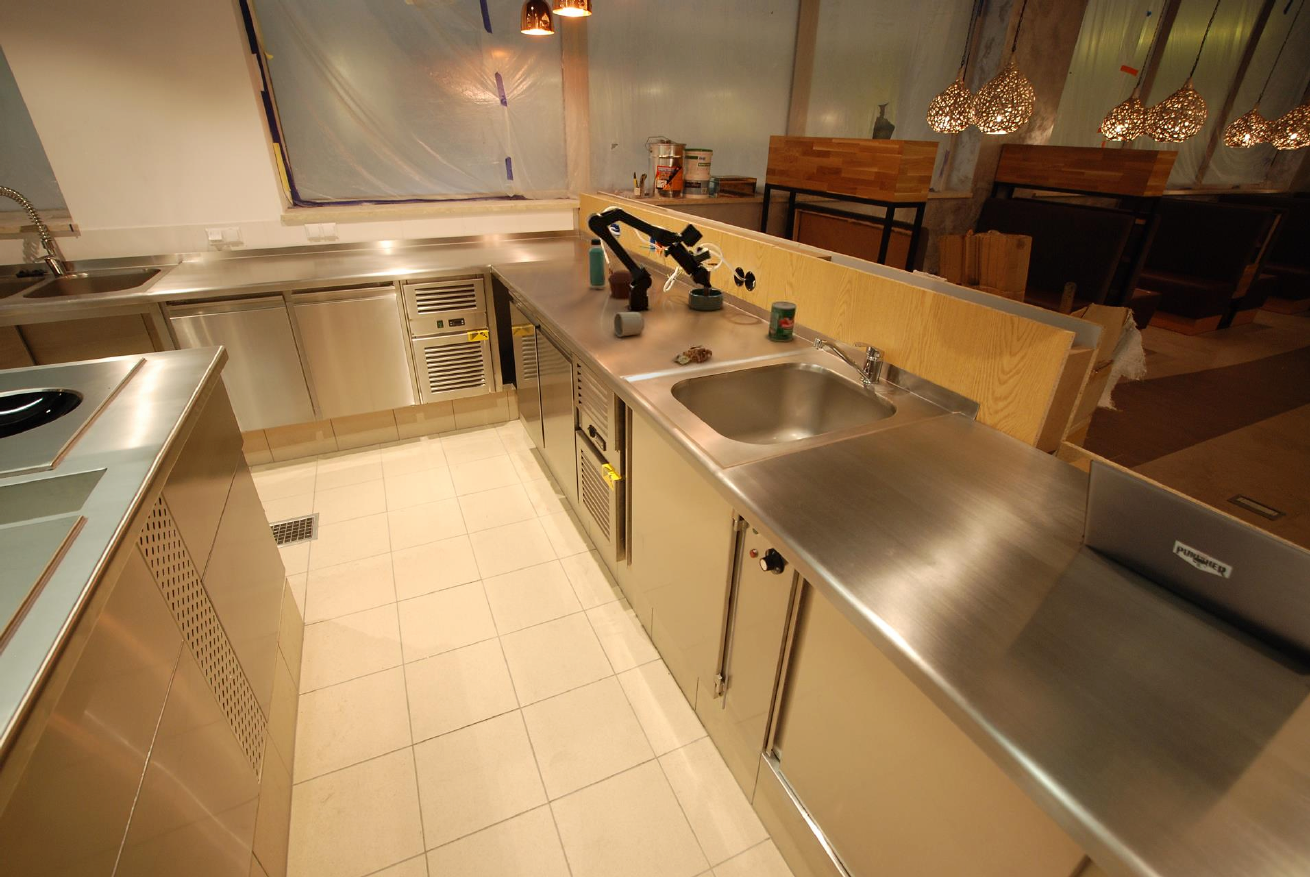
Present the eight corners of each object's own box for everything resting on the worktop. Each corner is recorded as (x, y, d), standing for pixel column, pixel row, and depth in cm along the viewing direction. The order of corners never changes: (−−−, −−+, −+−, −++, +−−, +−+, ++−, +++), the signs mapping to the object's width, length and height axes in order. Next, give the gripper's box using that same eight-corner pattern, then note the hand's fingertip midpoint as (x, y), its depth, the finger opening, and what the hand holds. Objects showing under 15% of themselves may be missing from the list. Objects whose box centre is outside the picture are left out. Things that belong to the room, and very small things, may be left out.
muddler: (710, 306, 218) (712, 272, 212) (699, 305, 219) (700, 271, 213) (711, 303, 222) (714, 269, 216) (700, 302, 223) (702, 268, 217)
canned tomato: (787, 343, 185) (791, 309, 180) (764, 338, 188) (767, 305, 183) (795, 336, 191) (800, 304, 185) (773, 332, 194) (777, 300, 189)
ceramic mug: (645, 336, 189) (645, 313, 185) (623, 339, 185) (622, 316, 181) (631, 327, 197) (630, 305, 193) (609, 330, 193) (608, 308, 190)
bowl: (695, 312, 214) (696, 297, 211) (683, 303, 225) (684, 289, 222) (728, 310, 217) (729, 295, 215) (714, 301, 228) (715, 287, 226)
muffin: (632, 291, 239) (632, 267, 234) (640, 298, 230) (640, 273, 225) (605, 293, 236) (604, 268, 231) (611, 300, 227) (611, 274, 222)
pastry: (670, 360, 169) (670, 348, 168) (697, 351, 177) (698, 340, 175) (687, 367, 165) (688, 355, 163) (715, 357, 172) (715, 346, 171)
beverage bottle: (603, 290, 240) (601, 240, 231) (587, 289, 241) (585, 239, 232) (607, 286, 246) (606, 238, 236) (592, 285, 247) (590, 237, 237)
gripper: (704, 245, 201) (732, 276, 208) (693, 236, 217) (719, 265, 224) (681, 268, 203) (709, 298, 210) (672, 257, 219) (698, 286, 226)
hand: (709, 286), depth 218 cm, fingers closed on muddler, 2 cm apart
